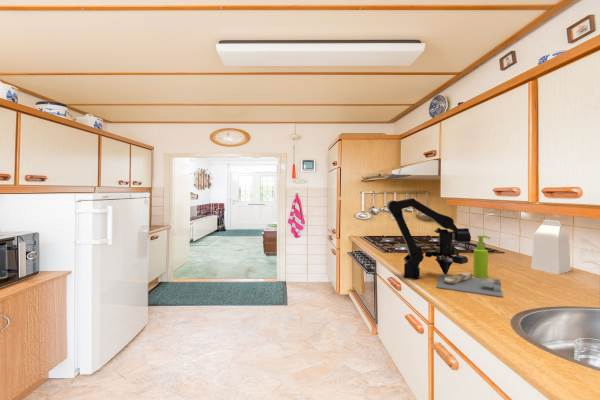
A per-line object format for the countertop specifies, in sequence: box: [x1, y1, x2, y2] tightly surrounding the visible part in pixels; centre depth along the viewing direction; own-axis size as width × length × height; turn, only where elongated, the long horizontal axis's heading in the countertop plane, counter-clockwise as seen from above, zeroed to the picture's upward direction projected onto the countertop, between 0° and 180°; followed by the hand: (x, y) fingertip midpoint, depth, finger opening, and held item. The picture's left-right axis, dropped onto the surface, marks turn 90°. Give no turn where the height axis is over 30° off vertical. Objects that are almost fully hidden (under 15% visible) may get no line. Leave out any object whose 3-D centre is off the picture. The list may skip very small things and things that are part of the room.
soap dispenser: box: [473, 235, 491, 279], centre depth 141 cm, size 6×7×20 cm
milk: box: [530, 219, 571, 275], centre depth 151 cm, size 12×12×26 cm
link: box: [445, 271, 473, 284], centre depth 134 cm, size 17×4×3 cm, turn 120°
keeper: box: [480, 277, 502, 292], centre depth 123 cm, size 7×5×4 cm
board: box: [435, 273, 504, 298], centre depth 130 cm, size 24×22×1 cm
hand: (445, 274), depth 140 cm, fingers closed
